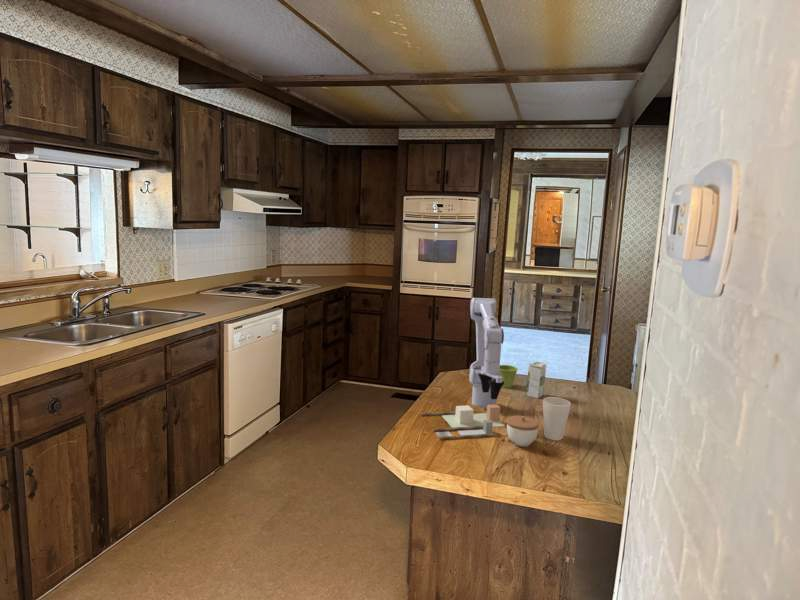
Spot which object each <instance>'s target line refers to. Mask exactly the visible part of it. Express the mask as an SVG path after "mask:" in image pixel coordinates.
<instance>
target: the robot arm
mask: <svg viewBox="0 0 800 600" xmlns="http://www.w3.org/2000/svg"><path fill="white" fill-rule="evenodd" d="M469 304H470V305H469V306H470V307H469V308H470V319H471V320H473V321H474V322H475V323H474V324H475V336H476V337H475V343H476V344H475V346H476V350H475V351H476V361H474V362H472V363H471V365H469V382H470V384H471V385H472V389H471V392H472V393H471V404H472V405H473V406H476V407H479V408H480V407H481V408H482V409H483V410H487V405H496V404H497V400H498V396H499V393H500V392H501V389H502V388H503V387H502V386H503V385H504V382H503V381H502V377H501V375H500V372H499V369H500V365H501V354H502V353H501V352H502V345H503V343H504V340H505V331H504V328H502V327H500V324H499V322H498V321H499V320H498V319H497V317H495V314H496V312H497V311H496V310H497V299H496V298H495V297H493V298H490V297H487V298H485V297H472V298H471V299H470V303H469Z"/></svg>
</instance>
